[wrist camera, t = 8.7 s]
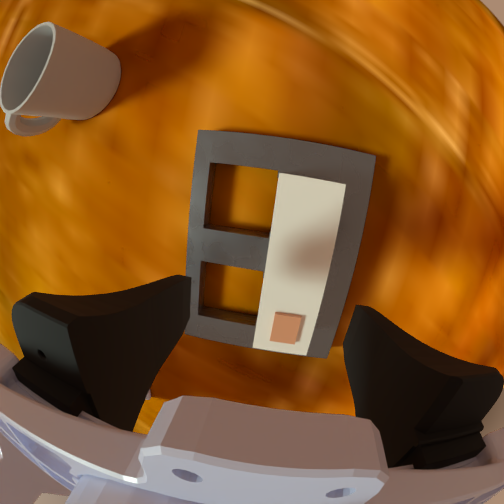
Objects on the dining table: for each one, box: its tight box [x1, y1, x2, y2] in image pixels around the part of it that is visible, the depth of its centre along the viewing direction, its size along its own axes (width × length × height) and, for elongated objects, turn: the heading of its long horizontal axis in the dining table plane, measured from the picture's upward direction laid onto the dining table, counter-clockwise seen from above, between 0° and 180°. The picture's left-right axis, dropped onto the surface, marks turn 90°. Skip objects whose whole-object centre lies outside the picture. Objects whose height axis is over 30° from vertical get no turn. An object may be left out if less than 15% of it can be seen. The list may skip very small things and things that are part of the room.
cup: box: [0, 22, 121, 136], centre depth 14 cm, size 7×10×9 cm
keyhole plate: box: [185, 130, 376, 358], centre depth 19 cm, size 16×12×2 cm
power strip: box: [253, 173, 346, 356], centre depth 17 cm, size 11×4×5 cm, turn 173°
